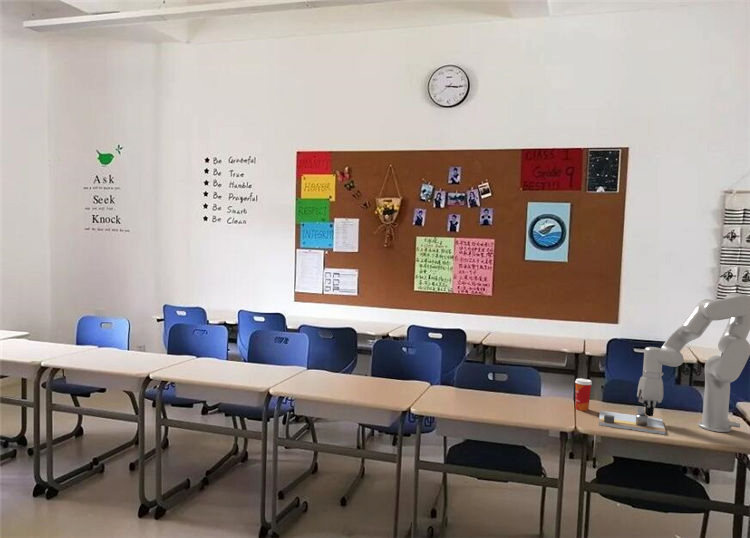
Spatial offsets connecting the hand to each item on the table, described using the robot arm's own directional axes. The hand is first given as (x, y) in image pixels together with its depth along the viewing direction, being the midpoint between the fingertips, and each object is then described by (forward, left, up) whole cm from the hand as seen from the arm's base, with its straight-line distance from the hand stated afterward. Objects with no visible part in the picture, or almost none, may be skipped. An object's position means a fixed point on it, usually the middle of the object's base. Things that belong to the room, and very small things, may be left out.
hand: (649, 415), depth 264 cm
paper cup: (+29, -5, -3) cm, 29 cm away
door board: (+8, +7, -3) cm, 11 cm away
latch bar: (+4, +6, -1) cm, 7 cm away
